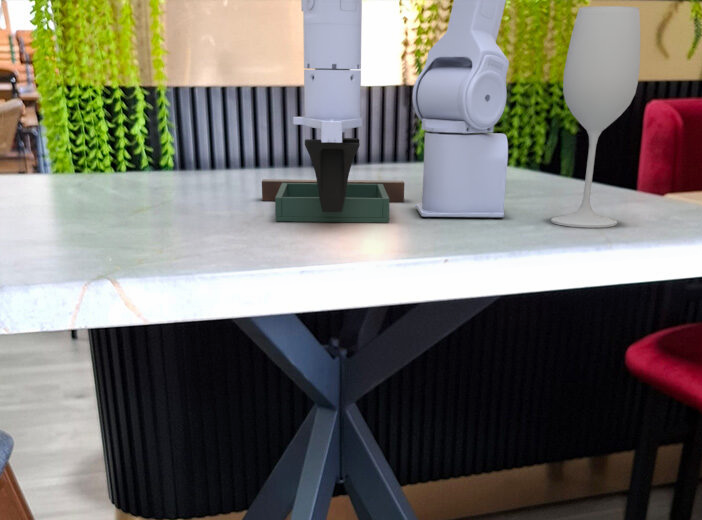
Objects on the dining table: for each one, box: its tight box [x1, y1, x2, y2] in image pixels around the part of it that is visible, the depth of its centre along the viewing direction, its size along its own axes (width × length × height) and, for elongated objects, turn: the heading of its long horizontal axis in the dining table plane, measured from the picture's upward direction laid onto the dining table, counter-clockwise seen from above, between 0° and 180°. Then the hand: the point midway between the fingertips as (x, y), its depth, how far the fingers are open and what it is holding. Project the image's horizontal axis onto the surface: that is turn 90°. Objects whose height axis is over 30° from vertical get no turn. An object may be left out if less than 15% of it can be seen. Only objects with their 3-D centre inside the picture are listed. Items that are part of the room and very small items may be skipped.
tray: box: [274, 183, 390, 224], centre depth 104 cm, size 12×14×2 cm
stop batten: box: [261, 178, 405, 203], centre depth 114 cm, size 18×2×2 cm, turn 91°
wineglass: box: [550, 5, 641, 229], centre depth 95 cm, size 8×8×21 cm
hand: (332, 211), depth 95 cm, fingers closed
